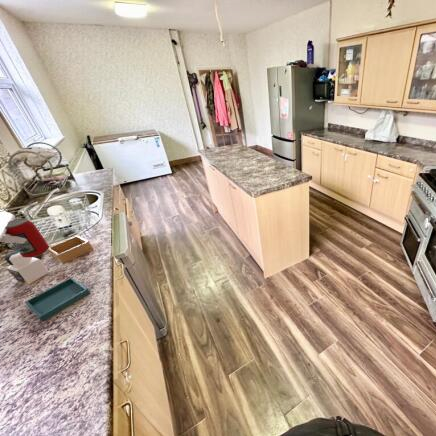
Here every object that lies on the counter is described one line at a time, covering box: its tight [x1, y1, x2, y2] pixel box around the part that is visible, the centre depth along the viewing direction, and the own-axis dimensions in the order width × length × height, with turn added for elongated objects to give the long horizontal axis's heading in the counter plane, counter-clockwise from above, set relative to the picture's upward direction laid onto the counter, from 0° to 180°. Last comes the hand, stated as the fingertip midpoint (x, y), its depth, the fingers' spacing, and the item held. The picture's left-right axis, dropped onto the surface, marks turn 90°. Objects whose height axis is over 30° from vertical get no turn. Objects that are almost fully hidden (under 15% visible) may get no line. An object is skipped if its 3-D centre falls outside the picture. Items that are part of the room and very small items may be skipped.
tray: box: [24, 276, 91, 323], centre depth 82 cm, size 13×13×2 cm
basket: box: [47, 235, 94, 265], centre depth 106 cm, size 12×12×4 cm
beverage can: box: [5, 217, 50, 258], centre depth 76 cm, size 7×7×12 cm
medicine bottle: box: [4, 250, 50, 285], centre depth 90 cm, size 7×7×12 cm
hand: (27, 235), depth 76 cm, fingers closed on beverage can, 7 cm apart
